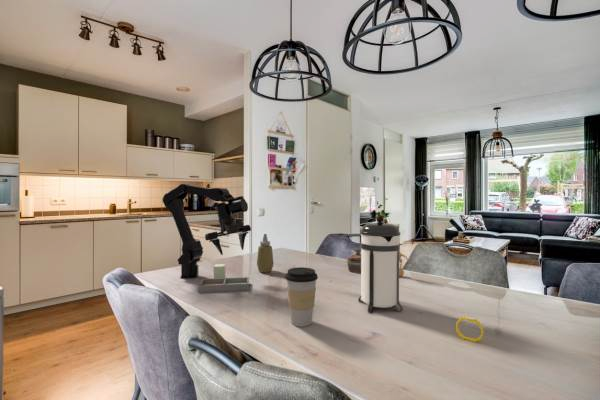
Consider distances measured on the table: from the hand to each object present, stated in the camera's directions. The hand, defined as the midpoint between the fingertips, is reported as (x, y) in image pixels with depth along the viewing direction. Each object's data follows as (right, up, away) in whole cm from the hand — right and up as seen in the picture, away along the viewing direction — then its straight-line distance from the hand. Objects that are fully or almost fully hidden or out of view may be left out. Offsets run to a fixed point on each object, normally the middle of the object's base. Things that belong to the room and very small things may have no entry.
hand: (232, 252), depth 129 cm
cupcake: (+56, -12, +17) cm, 60 cm away
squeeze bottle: (+12, -12, +15) cm, 23 cm away
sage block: (-6, -12, +3) cm, 14 cm away
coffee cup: (+29, -13, -42) cm, 53 cm away
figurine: (+73, -12, +6) cm, 74 cm away
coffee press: (+55, -13, -28) cm, 63 cm away
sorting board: (-1, -12, -10) cm, 16 cm away
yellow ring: (+72, -13, -52) cm, 90 cm away
